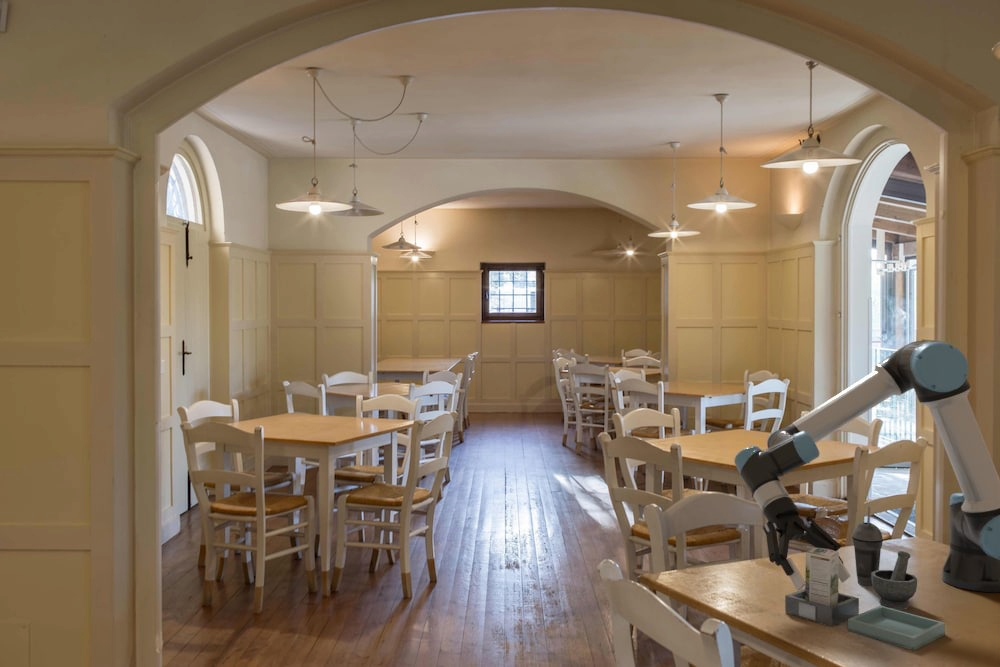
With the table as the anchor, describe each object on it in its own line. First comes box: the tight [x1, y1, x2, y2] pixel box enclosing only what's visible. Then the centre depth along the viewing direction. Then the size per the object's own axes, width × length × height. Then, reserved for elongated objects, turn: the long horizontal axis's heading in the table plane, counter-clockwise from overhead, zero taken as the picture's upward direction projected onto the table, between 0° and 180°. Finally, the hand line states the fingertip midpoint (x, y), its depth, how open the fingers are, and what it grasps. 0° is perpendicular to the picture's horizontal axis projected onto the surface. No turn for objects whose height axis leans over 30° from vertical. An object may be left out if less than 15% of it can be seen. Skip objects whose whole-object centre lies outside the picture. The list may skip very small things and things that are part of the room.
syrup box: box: [804, 547, 840, 606], centre depth 186 cm, size 6×6×14 cm
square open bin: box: [784, 588, 860, 628], centre depth 186 cm, size 12×11×4 cm
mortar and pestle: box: [871, 550, 918, 610], centre depth 193 cm, size 11×9×12 cm
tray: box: [847, 605, 946, 652], centre depth 175 cm, size 14×14×2 cm
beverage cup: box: [851, 506, 884, 587], centre depth 209 cm, size 7×7×20 cm
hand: (824, 583), depth 185 cm, fingers open, 13 cm apart
